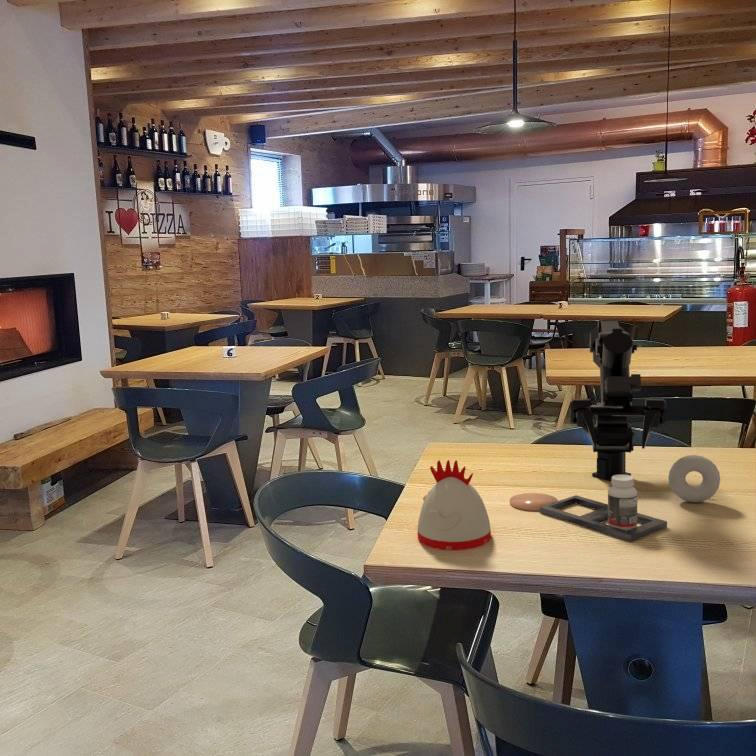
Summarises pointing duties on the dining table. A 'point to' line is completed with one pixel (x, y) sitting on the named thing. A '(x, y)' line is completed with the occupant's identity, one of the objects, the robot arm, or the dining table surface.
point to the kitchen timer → (453, 512)
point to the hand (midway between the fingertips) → (619, 447)
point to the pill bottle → (622, 503)
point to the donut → (699, 465)
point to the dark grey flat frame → (602, 519)
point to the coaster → (531, 501)
